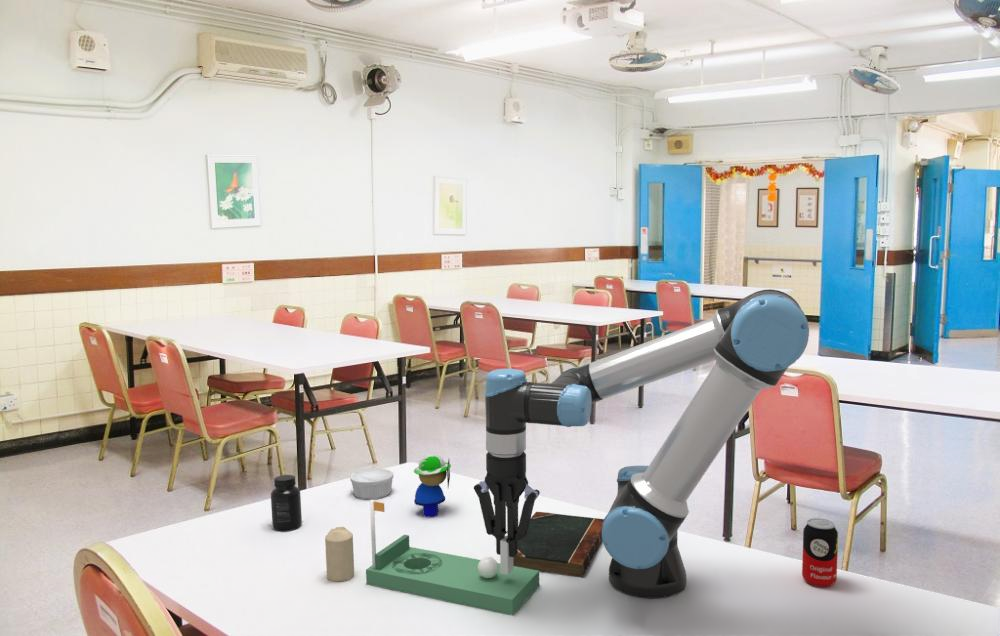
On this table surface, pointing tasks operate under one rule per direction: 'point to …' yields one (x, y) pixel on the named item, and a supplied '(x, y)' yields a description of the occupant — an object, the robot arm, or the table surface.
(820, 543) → the beverage can
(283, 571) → the table surface
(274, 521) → the supplement bottle
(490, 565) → the ball
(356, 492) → the ramekin
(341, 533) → the candle
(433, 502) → the toy
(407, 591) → the green
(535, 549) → the book
